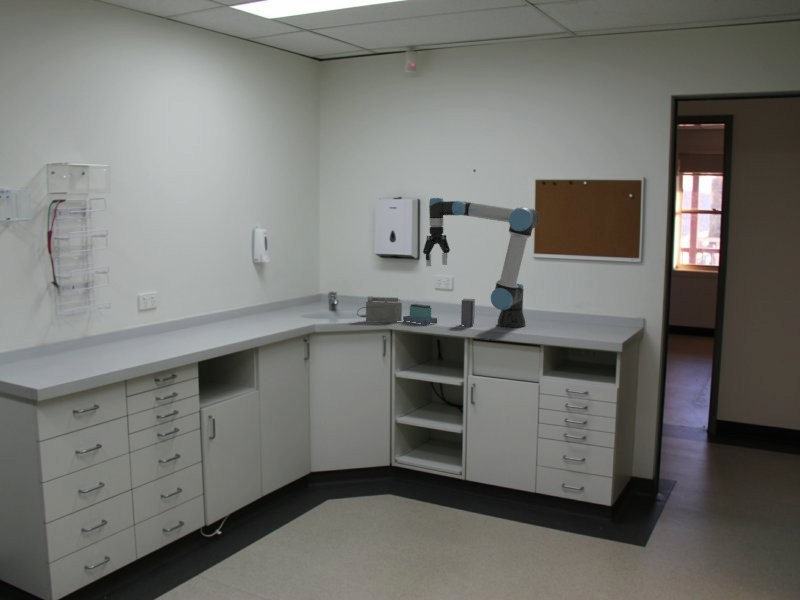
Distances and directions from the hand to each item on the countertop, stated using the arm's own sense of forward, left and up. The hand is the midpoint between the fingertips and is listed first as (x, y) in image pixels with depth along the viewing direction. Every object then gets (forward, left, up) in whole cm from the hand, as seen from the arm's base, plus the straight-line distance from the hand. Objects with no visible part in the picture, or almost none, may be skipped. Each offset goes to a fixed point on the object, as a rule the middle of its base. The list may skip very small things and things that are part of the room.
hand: (436, 265), depth 409 cm
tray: (+7, +6, -32) cm, 33 cm away
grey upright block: (-17, -6, -32) cm, 37 cm away
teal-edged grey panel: (+6, +6, -31) cm, 32 cm away
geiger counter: (+25, +20, -32) cm, 45 cm away
